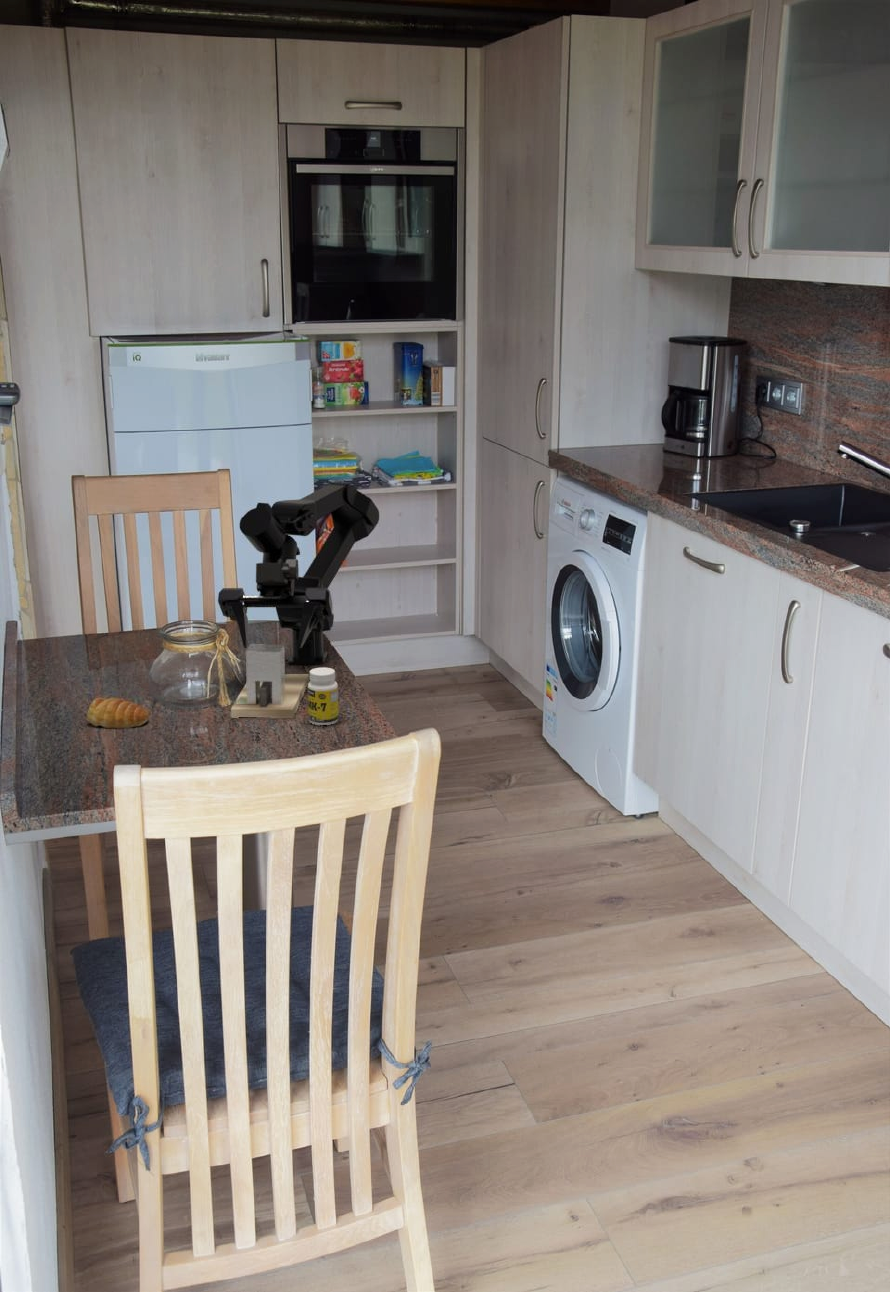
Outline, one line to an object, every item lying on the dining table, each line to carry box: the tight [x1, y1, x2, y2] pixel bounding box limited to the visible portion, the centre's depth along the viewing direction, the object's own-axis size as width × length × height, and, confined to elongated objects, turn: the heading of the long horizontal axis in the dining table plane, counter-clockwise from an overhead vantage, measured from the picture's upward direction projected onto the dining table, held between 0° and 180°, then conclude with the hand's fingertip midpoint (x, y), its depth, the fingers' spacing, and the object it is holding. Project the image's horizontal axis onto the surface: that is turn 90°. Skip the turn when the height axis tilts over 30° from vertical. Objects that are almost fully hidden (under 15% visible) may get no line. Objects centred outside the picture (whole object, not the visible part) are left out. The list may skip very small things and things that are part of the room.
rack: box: [230, 673, 310, 719], centre depth 198 cm, size 18×10×4 cm, turn 178°
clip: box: [245, 643, 286, 705], centre depth 192 cm, size 4×6×9 cm
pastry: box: [86, 697, 150, 729], centre depth 188 cm, size 9×7×4 cm
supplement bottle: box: [307, 667, 339, 727], centre depth 188 cm, size 5×5×8 cm
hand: (272, 647), depth 198 cm, fingers open, 9 cm apart
